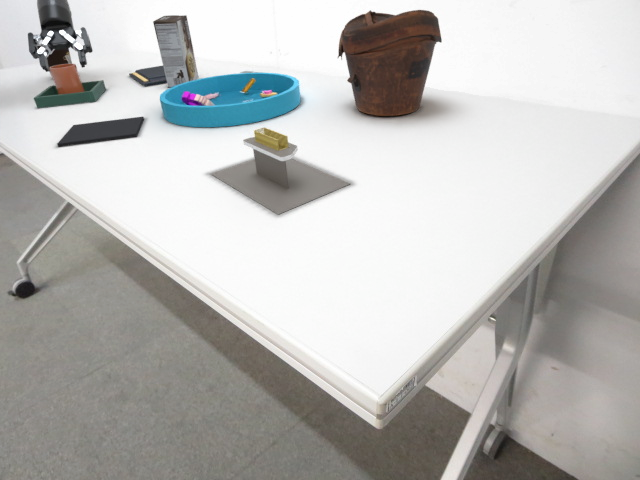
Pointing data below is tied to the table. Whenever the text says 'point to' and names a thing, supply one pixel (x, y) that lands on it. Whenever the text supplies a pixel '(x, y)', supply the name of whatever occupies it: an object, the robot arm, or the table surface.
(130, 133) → the mat
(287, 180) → the platform
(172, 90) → the blue plastic shallow tray
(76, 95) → the compartment
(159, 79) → the wallet
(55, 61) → the coffee mug
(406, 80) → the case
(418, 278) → the table surface
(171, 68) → the coffee box
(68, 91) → the cup
